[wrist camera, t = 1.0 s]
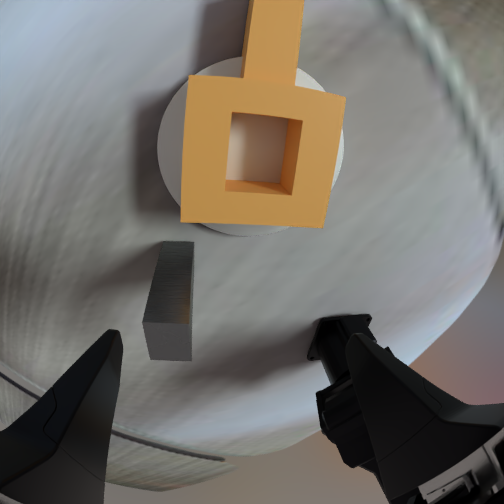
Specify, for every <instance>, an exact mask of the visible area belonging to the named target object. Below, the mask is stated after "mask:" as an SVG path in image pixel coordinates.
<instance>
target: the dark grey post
mask: <svg viewBox="0 0 504 504" xmlns="http://www.w3.org/2000/svg"><path fill="white" fill-rule="evenodd" d="M193 285H194V242H166V241H164V242H163V245H162V248H161V252H160V255H159V259H158V262H157V266H156V269H155V273H154V277H153V280H152V284H151V288H150V292H149V296H148V300H147V304H146V308H145V312H144V317H143V321H142V323H143V328H144V333H145V338H146V342H147V347H148V351H149V356H150V360H170V361H192V309H193Z"/></svg>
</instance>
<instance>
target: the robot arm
mask: <svg viewBox="0 0 504 504" xmlns="http://www.w3.org/2000/svg"><path fill="white" fill-rule="evenodd" d="M371 320H372V317H371V315H370V314H365V315H355V316H344V317H332V318H323V319H321V320H320V322H319V325H318V328H317V330H316V333H315V336H314V339H313V342H312V344H311V347H310V350H309V352H308V355H307V358H308V360H309V361H313V360H321V362H322V364H323V367H324V369H325V371H326V374H327V376H328V378H329V381H330V383H331V385H330V386H328V387H327V388H325V389H323V390H320V391H318V392H316V399H317V400H316V402H317V408H318V414H319V421H320V427H321V429H322V430H321V431H322V433H323V434H324V435H326V436H327V438H328V439H329V440H330V441H331V442H332V443H334V444H336V446H337V448H338V450H339V453H340V455H341V457H342V460H343V462H344V463H345V464H347V465H348V466H349V467H351V468H355V467H357V466H359V467H361V468H364V469H365V470H368V471H370V472H372V473H374V475H375V476H376V478H377V480H378V482H379V484H380V486H381V488H382V490H383V492H384V494H385V495H386V498H387V500H388V502H389V504H504V403H499V404H489V405H468V404H466V403H463V402H461V401H460V400H458V399H456V398H455V397H453V396H451V395H450V394H448V393H446V392H445V391H443V390H441V389H440V388H438V387H437V386H435V385H434V384H432V383H431V382H429V381H428V380H426V379H425V378H424V377H422V376H421V375H419V374H418V373H417V372H415V371H414V370H413V369H411V368H410V367H408V366H407V365H406V364H404V363H403V362H401V361H400V360H399V359H397V358H396V357H395V356H394V355H393V353H392V352H391V350H390V348H389V347H388V346H387V347H386V348H385V349H383V348H382V347H381V346H379V345H378V344H377V340H376V339H375V337H374V336H373V334H372V332H371V331H370V329H369V328H368V326H369V324H370V322H371ZM122 357H123V344H122V339H121V335H120V332H119V331H118V330H113V329H108V330H107V331H106V332H105V333H104V334H103V335H102V336H101V337H100V338H99V339H98V340H97V341H96V342H95V343H94V344H93V345H92V346H91V347H90V348H89V349H88V350H87V351H86V352H85V353H84V354H83V355H82V356H81V357H80V358H79V359H78V360H77V361H76V362H75V363H74V364H73V365H72V366H71V367H70V368H69V369H68V370H67V371H66V372H65V373H64V374H63V375H62V376H61V377H60V378H59V379H58V380H57V381H56V382H55V384H54V385H53V386H52V387H51V388H50V389H49V390H48V391H47V392H46V393H45V394H44V395H43V396H42V397H41V398H40V399H39V400H38V401H37V402H36V403H35V404H34V405H33V406H32V407H31V408H29V409H28V410H27V411H26V412H25V413H24V414H23V415H21V416H20V417H19V418H18V419H17V420H16V421H14V422H13V423H12V424H11V425H10V426H9V427H7V428H6V429H4V430H2V431H0V504H103V503H104V487H105V483H104V482H105V475H106V466H107V457H108V450H109V443H110V436H111V429H112V423H113V418H114V412H115V407H116V402H117V397H118V392H119V385H120V375H121V365H122Z"/></svg>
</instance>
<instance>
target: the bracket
mask: <svg viewBox="0 0 504 504" xmlns="http://www.w3.org/2000/svg"><path fill="white" fill-rule="evenodd" d="M303 8H304V0H249V7H248V14H247V20H246V27H245V35H244V42H243V50H242V57H236V58H231V59H226V60H223V61H220V62H218V63H215V64H213V65H211V66H209V67H207V68H205V69H203V70H201V71H200V72H198V73H197V74H195V75H189V80H188V81H187V82H186V83H185V84H184V85H183V86H182V87H181V88H180V89H179V90H178V91H177V93H176V94H175V95H174V96H173V98H172V100H171V101H170V103H169V105H168V106H167V108H166V111H165V113H164V115H163V118H162V121H161V124H160V128H159V133H158V142H157V154H158V162H159V168H160V171H161V174H162V177H163V180H164V183H165V185H166V187H167V189H168V191H169V192H170V194H171V195H172V197H173V198H174V200H175V201H176V202H177V204H178V205H179V206H180V207H181V222H186V223H201V224H203V225H205V226H207V227H209V228H211V229H213V230H216V231H219V232H222V233H226V234H230V235H236V236H261V235H268V234H272V233H275V232H279V231H282V230H284V229H287V228H289V227H291V226H292V227H310V228H323V226H324V221H325V216H326V212H327V207H328V202H329V197H330V192H331V189H332V187H333V186H334V184H335V182H336V179H337V177H338V174H339V172H340V168H341V164H342V159H343V151H344V138H343V131H342V123H343V117H344V109H345V102H346V97H343V96H339V95H335V94H331V93H327V92H325V90H324V89H323V88H322V87H321V86H320V85H319V84H318V83H317V82H316V81H315V80H314V79H313V78H312V77H311V76H309V75H308V74H307V73H305V72H304V71H302V70H301V69H299V68H297V63H298V54H299V45H300V36H301V27H302V17H303Z"/></svg>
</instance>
